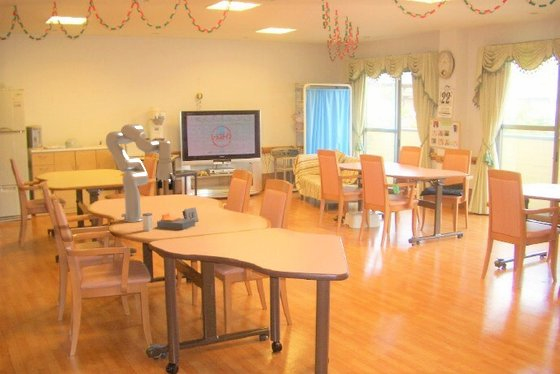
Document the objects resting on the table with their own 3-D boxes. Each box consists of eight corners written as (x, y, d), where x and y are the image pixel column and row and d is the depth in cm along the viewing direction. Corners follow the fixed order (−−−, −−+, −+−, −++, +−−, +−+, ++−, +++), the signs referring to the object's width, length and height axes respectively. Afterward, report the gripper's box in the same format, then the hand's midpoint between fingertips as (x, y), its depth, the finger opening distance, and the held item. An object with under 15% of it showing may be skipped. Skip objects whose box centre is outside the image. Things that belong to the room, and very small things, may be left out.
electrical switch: (188, 224, 381) (186, 209, 380) (182, 223, 384) (181, 209, 383) (199, 221, 388) (197, 207, 387) (193, 221, 391) (192, 207, 391)
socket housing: (157, 227, 369) (157, 221, 368) (170, 223, 381) (170, 217, 381) (182, 230, 361) (182, 223, 361) (195, 225, 374) (194, 219, 374)
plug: (143, 230, 361) (142, 214, 359) (147, 229, 364) (146, 212, 363) (148, 231, 359) (148, 214, 358) (152, 229, 363) (152, 213, 361)
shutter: (160, 220, 370) (160, 215, 369) (169, 218, 378) (169, 212, 378) (171, 221, 367) (171, 216, 366) (180, 218, 375) (180, 213, 374)
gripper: (150, 160, 374) (151, 188, 376) (169, 162, 363) (170, 191, 366) (160, 160, 380) (160, 187, 382) (179, 161, 369) (179, 189, 372)
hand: (165, 189), depth 374 cm, fingers open, 9 cm apart
